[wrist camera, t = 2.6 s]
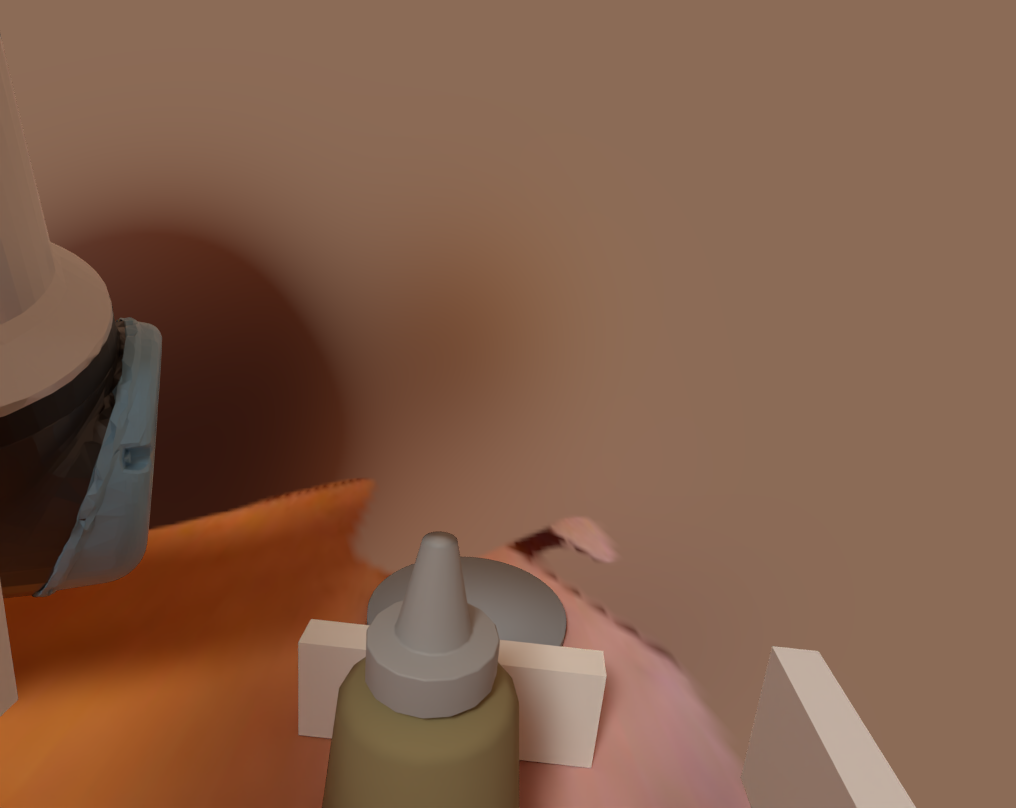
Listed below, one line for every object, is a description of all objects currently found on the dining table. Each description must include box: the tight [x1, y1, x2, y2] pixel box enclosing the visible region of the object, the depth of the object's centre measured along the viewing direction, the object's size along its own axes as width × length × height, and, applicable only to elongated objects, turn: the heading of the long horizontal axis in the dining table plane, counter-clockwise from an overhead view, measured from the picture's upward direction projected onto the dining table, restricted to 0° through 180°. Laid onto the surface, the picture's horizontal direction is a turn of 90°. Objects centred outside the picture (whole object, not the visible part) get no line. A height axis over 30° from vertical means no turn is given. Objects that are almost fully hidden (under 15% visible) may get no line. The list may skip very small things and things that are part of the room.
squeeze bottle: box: [322, 532, 519, 808], centre depth 25 cm, size 8×8×18 cm
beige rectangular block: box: [298, 619, 607, 768], centre depth 36 cm, size 16×2×6 cm, turn 88°
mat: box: [367, 557, 566, 647], centre depth 47 cm, size 14×14×1 cm
